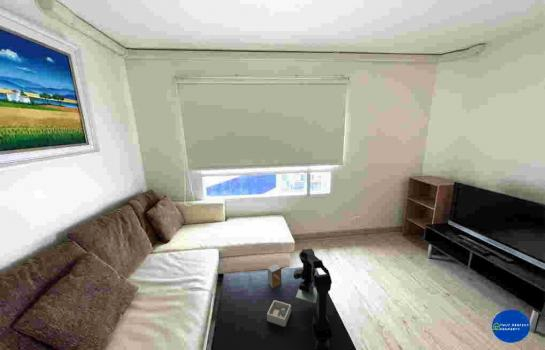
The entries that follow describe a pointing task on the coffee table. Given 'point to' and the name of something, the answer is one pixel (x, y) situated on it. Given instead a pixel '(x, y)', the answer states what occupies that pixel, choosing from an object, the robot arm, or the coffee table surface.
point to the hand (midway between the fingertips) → (307, 290)
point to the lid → (307, 295)
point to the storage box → (279, 313)
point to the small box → (274, 275)
